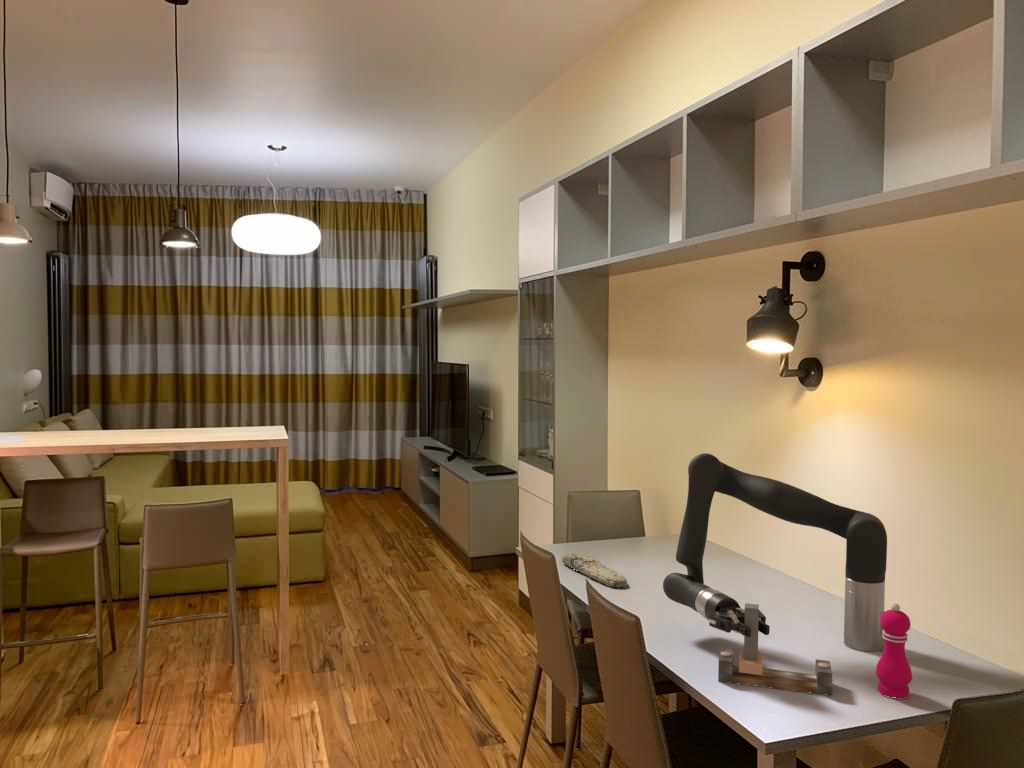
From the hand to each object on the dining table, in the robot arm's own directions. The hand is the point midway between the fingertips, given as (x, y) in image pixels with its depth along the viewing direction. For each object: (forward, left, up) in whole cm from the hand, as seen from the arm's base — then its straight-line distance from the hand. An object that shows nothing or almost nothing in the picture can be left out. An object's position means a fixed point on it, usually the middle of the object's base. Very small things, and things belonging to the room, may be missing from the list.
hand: (758, 631), depth 179 cm
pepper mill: (-28, -4, -12) cm, 31 cm away
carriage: (+2, -2, -9) cm, 10 cm away
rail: (-3, -2, -12) cm, 13 cm away
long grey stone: (+53, -73, -13) cm, 91 cm away
